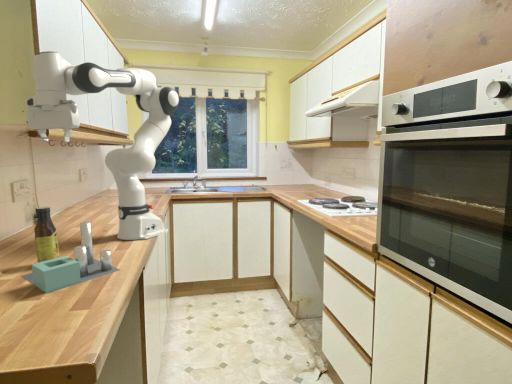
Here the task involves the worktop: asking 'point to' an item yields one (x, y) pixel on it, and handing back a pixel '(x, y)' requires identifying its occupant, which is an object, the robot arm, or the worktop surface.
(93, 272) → the mat
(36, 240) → the sauce bottle
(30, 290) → the worktop surface
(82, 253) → the medium pin
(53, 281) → the block
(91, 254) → the long pin
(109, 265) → the short pin
